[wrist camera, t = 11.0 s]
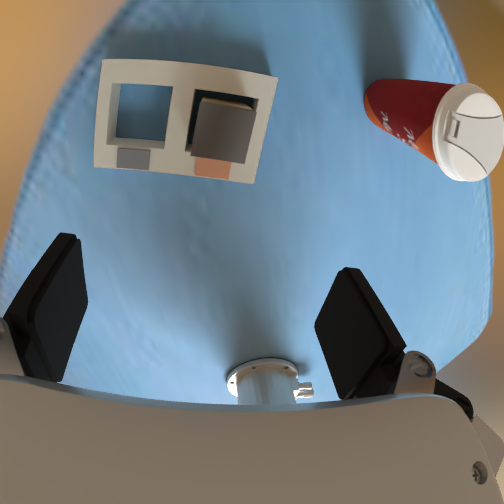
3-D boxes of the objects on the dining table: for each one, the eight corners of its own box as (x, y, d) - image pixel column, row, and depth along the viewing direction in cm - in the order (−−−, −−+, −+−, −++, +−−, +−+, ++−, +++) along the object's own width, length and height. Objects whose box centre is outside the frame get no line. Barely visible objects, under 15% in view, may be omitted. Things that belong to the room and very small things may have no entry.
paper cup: (349, 131, 28) (432, 180, 17) (359, 61, 24) (455, 70, 12) (408, 142, 29) (494, 193, 18) (419, 80, 25) (516, 106, 14)
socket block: (271, 77, 24) (279, 78, 22) (249, 173, 30) (253, 185, 27) (113, 59, 21) (101, 59, 19) (103, 157, 26) (92, 168, 24)
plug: (246, 103, 26) (256, 112, 20) (236, 143, 28) (244, 164, 22) (202, 95, 25) (200, 102, 19) (194, 136, 27) (190, 155, 21)
